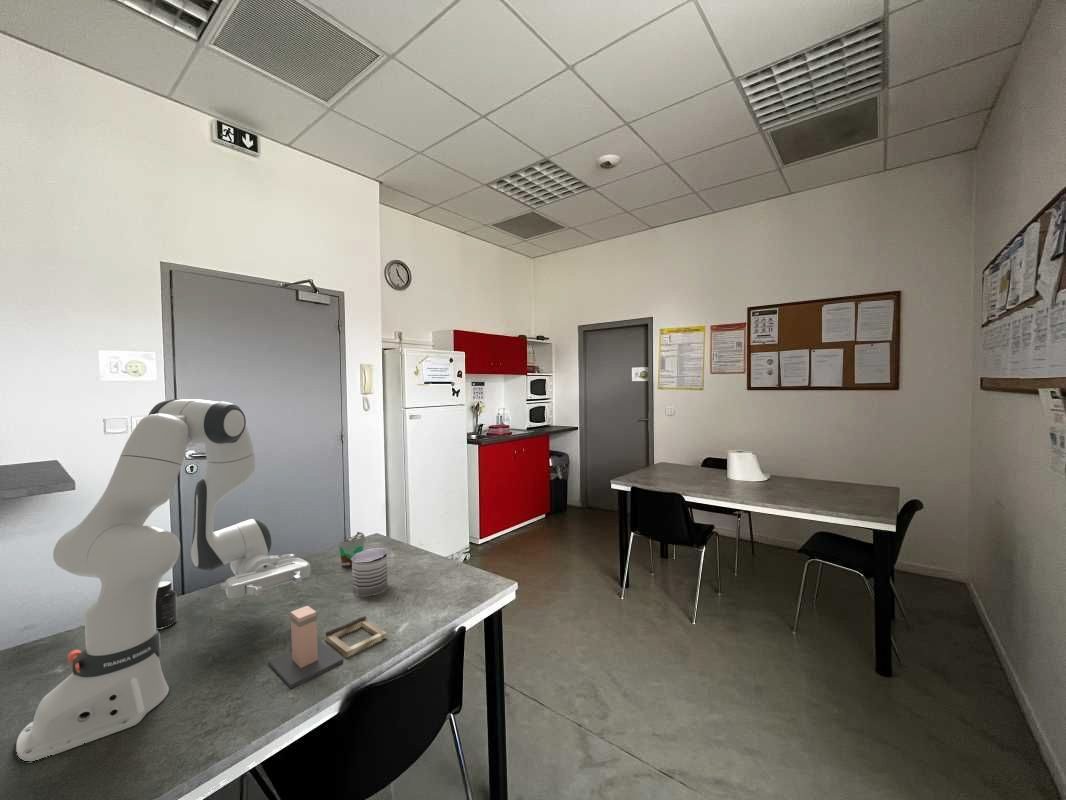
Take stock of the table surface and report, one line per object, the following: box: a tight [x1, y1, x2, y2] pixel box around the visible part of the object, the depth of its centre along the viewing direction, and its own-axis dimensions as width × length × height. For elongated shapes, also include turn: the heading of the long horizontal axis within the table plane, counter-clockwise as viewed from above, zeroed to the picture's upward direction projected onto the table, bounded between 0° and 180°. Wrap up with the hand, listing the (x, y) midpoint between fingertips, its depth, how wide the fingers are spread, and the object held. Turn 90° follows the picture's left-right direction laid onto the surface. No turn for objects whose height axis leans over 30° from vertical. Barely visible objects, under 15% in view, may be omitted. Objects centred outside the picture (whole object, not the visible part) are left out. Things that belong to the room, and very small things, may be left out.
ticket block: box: [289, 605, 318, 668], centre depth 109 cm, size 4×5×12 cm
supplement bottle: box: [156, 580, 178, 628], centre depth 128 cm, size 7×7×12 cm
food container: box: [338, 531, 366, 568], centre depth 171 cm, size 12×6×10 cm, turn 168°
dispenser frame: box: [324, 615, 388, 658], centre depth 119 cm, size 11×12×2 cm
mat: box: [267, 638, 344, 689], centre depth 109 cm, size 12×14×1 cm
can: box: [351, 547, 389, 597], centre depth 149 cm, size 11×11×12 cm
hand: (279, 585), depth 117 cm, fingers open, 8 cm apart
